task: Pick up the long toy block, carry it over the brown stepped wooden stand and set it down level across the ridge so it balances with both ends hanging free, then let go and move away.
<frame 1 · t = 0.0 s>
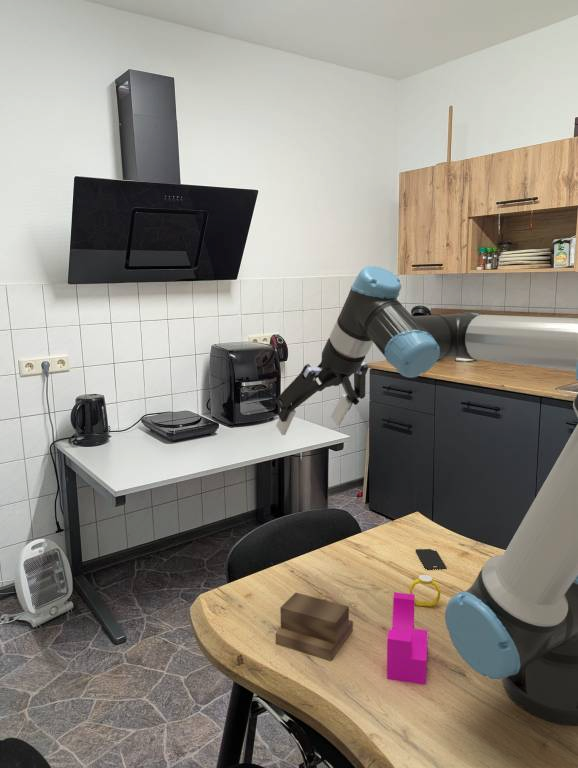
hand: (308, 425, 119), 36 cm above the table, tool tilted 35°, fingers open, 13 cm apart
black flat piece: (430, 562, 138), on the table
toy block: (408, 656, 103), on the table
brown stepped wooden stand: (314, 636, 108), on the table
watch: (424, 605, 118), on the table
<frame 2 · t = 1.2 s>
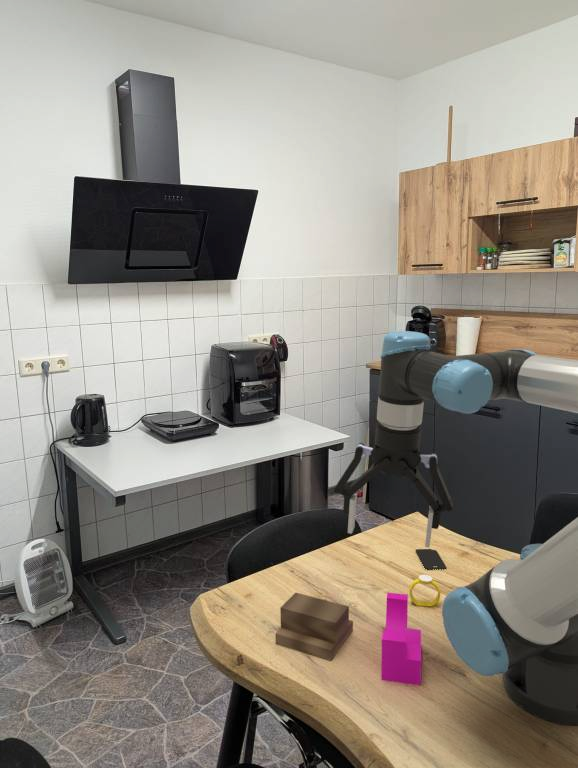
hand: (388, 536, 104), 20 cm above the table, tool pointing down, fingers open, 13 cm apart
toy block: (402, 656, 103), on the table
everything else where it was.
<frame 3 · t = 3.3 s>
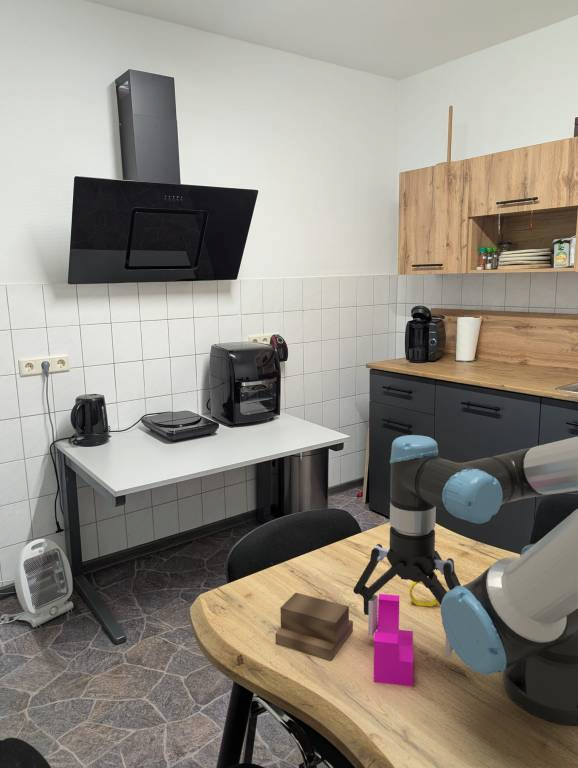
hand: (409, 642, 102), 2 cm above the table, tool pointing down, fingers open, 13 cm apart
toy block: (394, 658, 102), on the table
everything else where it was.
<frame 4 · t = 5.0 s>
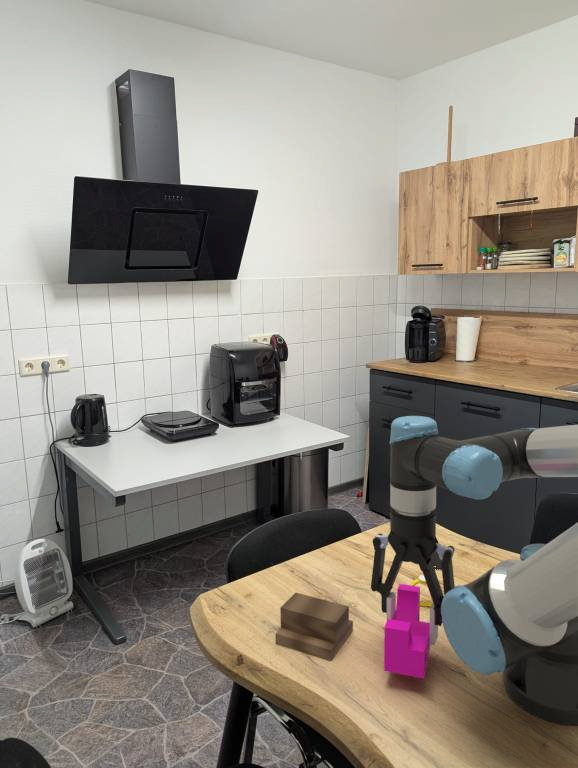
hand: (412, 634, 102), 4 cm above the table, tool pointing down, fingers closed on toy block, 7 cm apart
toy block: (410, 649, 100), point 3 cm above the table, touching gripper
everything else where it was.
when the fingers open (7 cm above the table, at t = 10.1 s): toy block stays where it is, resting on brown stepped wooden stand.
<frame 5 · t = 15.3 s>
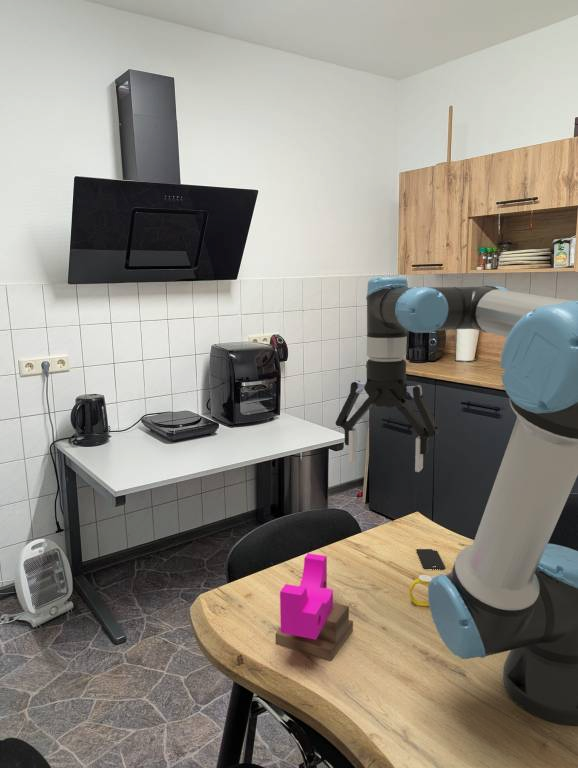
hand: (385, 465, 116), 29 cm above the table, tool pointing down, fingers open, 13 cm apart
toy block: (311, 613, 105), point 6 cm above the table, touching brown stepped wooden stand
everything else where it was.
at the end: toy block 1.9 cm off-centre on the brown stepped wooden stand, point 5.8 cm above the brown stepped wooden stand's base; toy block tilted 0°; toy block touching brown stepped wooden stand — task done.
